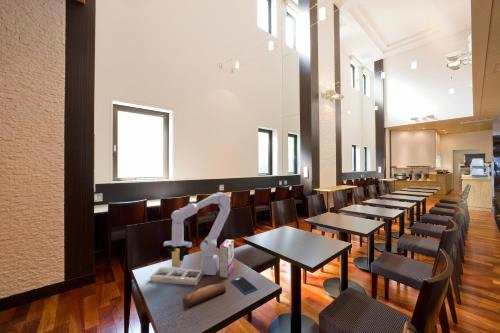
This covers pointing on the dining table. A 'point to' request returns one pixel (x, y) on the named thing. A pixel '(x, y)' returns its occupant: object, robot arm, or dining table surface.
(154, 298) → the dining table surface
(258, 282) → the dining table surface
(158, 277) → the white compartment tray
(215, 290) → the brown rounded bar
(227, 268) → the candy bar box
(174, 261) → the brass block
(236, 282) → the cell phone
